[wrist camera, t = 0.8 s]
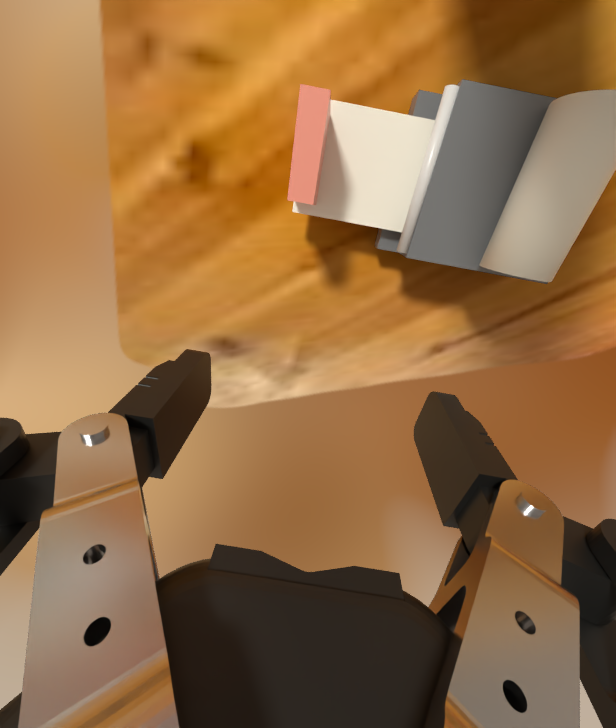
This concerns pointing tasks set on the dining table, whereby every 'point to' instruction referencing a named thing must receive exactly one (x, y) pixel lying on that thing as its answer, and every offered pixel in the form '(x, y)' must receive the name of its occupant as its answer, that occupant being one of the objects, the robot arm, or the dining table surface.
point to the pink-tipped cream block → (355, 161)
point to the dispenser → (506, 178)
